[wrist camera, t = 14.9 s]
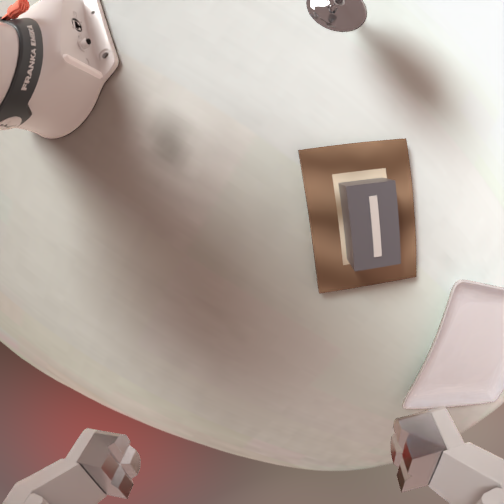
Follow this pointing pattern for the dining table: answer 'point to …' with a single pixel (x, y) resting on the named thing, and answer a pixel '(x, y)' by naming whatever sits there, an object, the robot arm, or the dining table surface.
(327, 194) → the pin board
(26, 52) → the robot arm
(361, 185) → the socket block
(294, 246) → the dining table surface
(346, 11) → the wine glass
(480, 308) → the salad plate
